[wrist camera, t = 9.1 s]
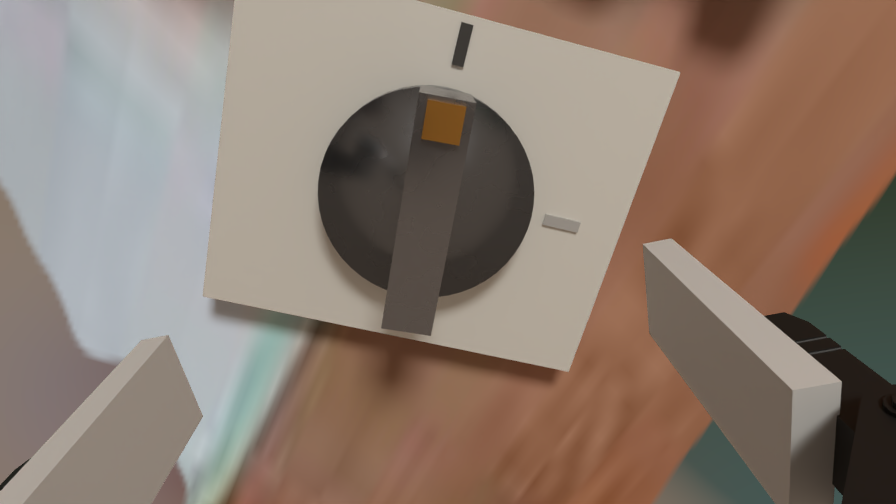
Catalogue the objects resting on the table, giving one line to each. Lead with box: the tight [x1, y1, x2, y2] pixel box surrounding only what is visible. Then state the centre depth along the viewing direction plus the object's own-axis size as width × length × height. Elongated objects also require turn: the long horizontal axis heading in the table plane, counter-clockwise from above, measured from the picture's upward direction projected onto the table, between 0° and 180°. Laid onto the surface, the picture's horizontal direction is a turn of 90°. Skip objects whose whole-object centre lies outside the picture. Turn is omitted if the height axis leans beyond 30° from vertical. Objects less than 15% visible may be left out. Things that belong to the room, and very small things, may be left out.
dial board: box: [203, 0, 680, 372], centre depth 31 cm, size 22×18×2 cm
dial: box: [318, 85, 534, 336], centre depth 28 cm, size 11×11×6 cm
